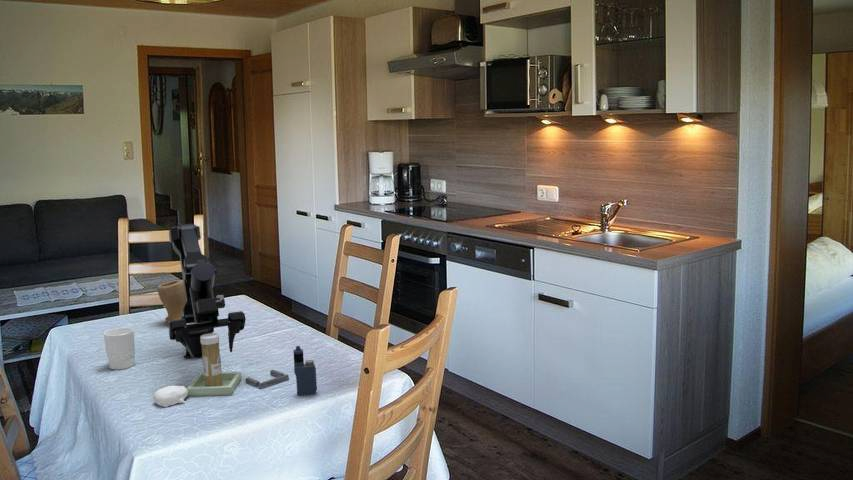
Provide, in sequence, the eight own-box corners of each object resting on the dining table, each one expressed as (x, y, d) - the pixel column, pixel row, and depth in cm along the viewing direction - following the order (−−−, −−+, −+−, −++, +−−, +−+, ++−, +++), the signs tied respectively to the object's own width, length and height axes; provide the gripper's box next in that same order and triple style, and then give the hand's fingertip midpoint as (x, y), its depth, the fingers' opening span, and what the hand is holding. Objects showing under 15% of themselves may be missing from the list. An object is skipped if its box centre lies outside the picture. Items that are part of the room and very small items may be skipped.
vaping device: (296, 391, 183) (293, 345, 181) (317, 390, 184) (314, 344, 182) (295, 395, 181) (292, 348, 179) (316, 394, 181) (314, 347, 179)
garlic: (182, 394, 185) (181, 379, 184) (193, 401, 179) (192, 386, 179) (150, 402, 180) (149, 387, 179) (160, 410, 174) (159, 395, 174)
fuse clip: (245, 382, 191) (245, 378, 190) (273, 373, 197) (273, 369, 197) (260, 389, 186) (260, 384, 186) (288, 379, 192) (288, 375, 192)
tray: (186, 396, 182) (186, 388, 182) (199, 380, 193) (198, 373, 193) (231, 394, 183) (231, 387, 182) (241, 379, 193) (241, 372, 193)
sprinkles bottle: (222, 388, 186) (218, 336, 184) (203, 390, 185) (199, 338, 183) (223, 382, 190) (219, 331, 188) (205, 383, 190) (201, 333, 187)
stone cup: (156, 323, 250) (152, 279, 248) (191, 316, 257) (188, 274, 254) (169, 333, 238) (165, 287, 235) (206, 326, 245) (202, 282, 242)
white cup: (143, 362, 209) (140, 328, 208) (123, 371, 202) (120, 336, 200) (120, 360, 212) (117, 326, 210) (100, 369, 205) (96, 334, 203)
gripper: (165, 289, 184) (174, 344, 176) (241, 280, 191) (253, 332, 183) (165, 312, 192) (173, 366, 184) (238, 303, 200) (249, 354, 192)
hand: (212, 354), depth 186 cm, fingers open, 9 cm apart
